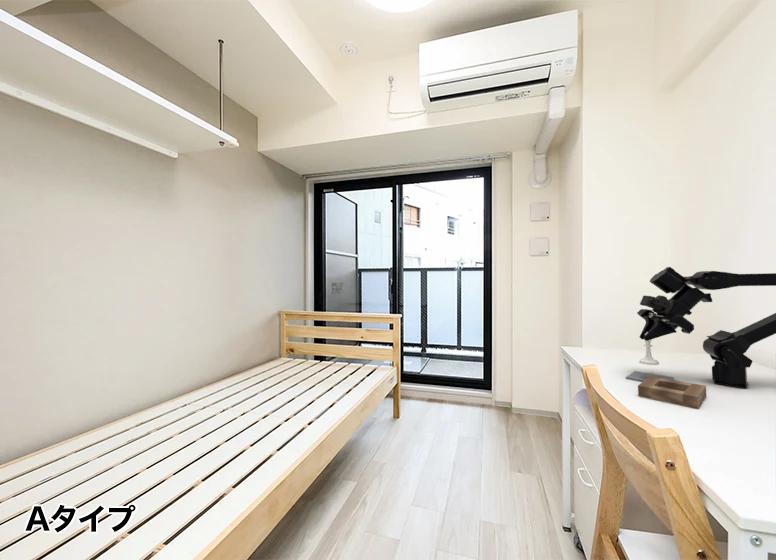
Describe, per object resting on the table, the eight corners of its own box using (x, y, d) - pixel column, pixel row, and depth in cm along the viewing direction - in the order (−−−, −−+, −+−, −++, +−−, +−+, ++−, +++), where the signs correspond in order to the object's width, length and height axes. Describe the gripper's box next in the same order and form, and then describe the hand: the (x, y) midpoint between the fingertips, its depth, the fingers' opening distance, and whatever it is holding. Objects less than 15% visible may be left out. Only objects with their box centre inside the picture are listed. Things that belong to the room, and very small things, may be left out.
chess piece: (648, 365, 96) (646, 333, 96) (635, 361, 101) (633, 331, 101) (663, 364, 96) (661, 333, 97) (650, 360, 101) (648, 330, 101)
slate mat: (673, 378, 99) (673, 377, 99) (665, 386, 93) (665, 384, 93) (635, 372, 107) (635, 370, 107) (625, 378, 101) (625, 377, 101)
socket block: (706, 396, 84) (706, 385, 84) (698, 409, 77) (697, 397, 77) (650, 386, 94) (649, 376, 94) (638, 396, 87) (637, 385, 87)
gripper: (641, 285, 107) (608, 318, 110) (678, 287, 89) (637, 326, 92) (670, 307, 105) (635, 340, 108) (713, 313, 87) (670, 352, 90)
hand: (642, 339), depth 99 cm, fingers closed on chess piece
